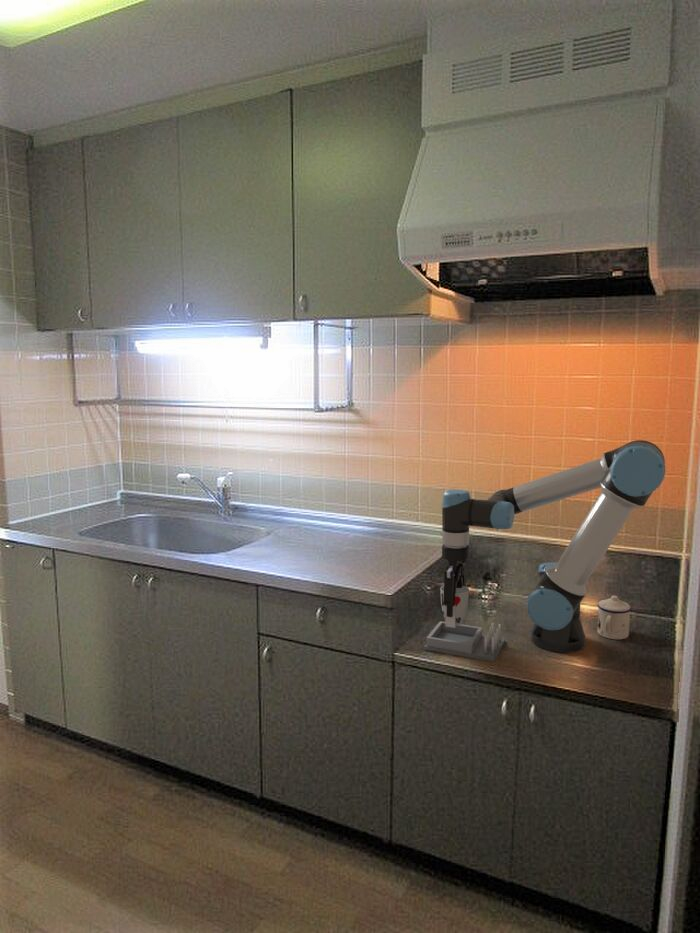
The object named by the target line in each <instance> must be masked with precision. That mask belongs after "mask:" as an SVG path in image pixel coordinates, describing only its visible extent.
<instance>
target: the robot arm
mask: <svg viewBox="0 0 700 933" xmlns="http://www.w3.org/2000/svg"><path fill="white" fill-rule="evenodd" d="M665 464H666V460H665V456H664V454H663V452H662V450H661V449H660V447H659V446H657V445H656V444H655V443H653V442H651V441H648V440H644V439H643V440H642V439H639V440H637V439H636V440H632V441H629V442H627V443H626V444H623V445H621V446H619V447H616V448H615V449H612V450H609V451H606V452H604V453H603V454H602V455H601V457H600V458H598V459H594V460H591V461H589V462H585V463H582V464H579V465H577V466H573V467H570V468H568V469H564V470H561V471H558V472H555V473H552V474H549V475H545V476H543V477H540V478H537V479H534V480H531V481H527V482H524V483H522V484H519V485H516V486H514V487H510V488H508V489H500V490H497V491H495V492H494V493H493V494H492V495H491V496H490V497H489V498H488V499H475V498H471V494H470V492H469V491H468V490H463V489H448V490H446V491H445V492H443V494H442V506H441V509H442V510H441V512H442V513H441V514H442V515H441V516H442V517H441V518H442V521H441V522H442V524H441V525H442V527H441V528H442V530H441V532H440V535H441V537H442V538H441V543H442V546H441V557H442V559H443V560H446V561H447V565H446V569H445V570H444V571H443V576H444V582H443V586H444V598H443V602H442V604H443V605H446V619H444V622H445V626H446V627H452V628H455V623H456V605H455V594H456V588H462V585H463V586H466V587H467V584H466V560H468V559H469V557H470V546H469V544H470V527H477V528H484V529H485V528H488V529H494V530H510V529H511V528H512V527H513V524H514V520H515V515H517V514H520V513H523V512H526V511H531V510H533V509H536V508H539V507H543V506H545V505H549V504H553V503H555V502H558V501H562V500H565V499H569V498H571V497H575V496H577V495H581V494H585V493H588V492H591V491H594V490H597V489H601V492H600V493H599V495H598V497H597V499H596V500H595V501H594V503H593V505H592V507H591V508H590V510H589V512H588V513H587V515H586V516H585V517H584V520H583V521H582V522H581V524H580V526H579V527H578V529H577V531H576V532H575V534H574V535H573V537H572V539H571V540H570V542H569V543H568V545H567V547H566V548H565V550H564V551H563V553H562V555H561V556H560V558H559V560H558V561H557V562H542V563H541V564H539V566H538V571H537V573H538V581H537V583H536V584H535V586H534V588H533V589H532V592H530V594H529V595H528V597H527V601H526V611H527V613H528V616H529V618H530V620H531V621H532V622H533V625H532V627H531V630H530V640H531V642H532V644H534V645H535V646H537V647H539V648H541V649H542V650H543V649H544V650H547V651H550V652H551V651H552V652H557V653H570V652H571V653H573V652H577V651H580V650H582V649H584V648H585V646H586V643H587V642H586V640H587V639H586V637H587V636H586V633H585V631H584V627H583V624H582V620H581V602H582V601H583V600H584V599H585V598H584V597H585V596H586V595H587V588H586V583H587V582H588V580H589V579H590V578H591V575H593V572H594V571H595V569H596V568H597V567H598V565H599V563H600V562H601V560H602V559H603V557H604V556H605V554H606V552H607V551H608V550H609V548H610V546H611V545H612V543H614V540H615V539H616V537H617V535H618V534H619V533H620V532H621V529H622V528H623V527H624V525H625V523H626V522H627V520H628V519H629V517H630V516H631V514H632V513H633V511H634V510H635V509H640V508H643V507H645V505H646V503H647V502H648V500H649V499H650V497H651V496H652V495H653V493H654V492H655V491H656V490H657V489H658V488H659V487H660V486H661V485H662V483H663V481H664V479H665V475H666V465H665Z"/></svg>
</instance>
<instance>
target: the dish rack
mask: <svg viewBox="0 0 700 933" xmlns="http://www.w3.org/2000/svg"><path fill="white" fill-rule="evenodd" d="M488 629H489V630H487V631H486V635H485V634H483V633H484V632H483V627H481V626H473V625H469V624H461V625H456V626H455V628H452V627H446V626H445V621H439V622H438V623H437V624H436V625H435V626H434V628H433V629H432V630H431V631H430V632H429V634H428V635H426V636H427V637H426V638H425V639H426V642H425V645H424V646H423V650H425V651H428V652H434V651H435V653H441V654H446V655H453V656H458V657H464V658H471V659H476V660H483V661H485V662H487V661H488V662H496V660H497V658H498V656H499V654H500V652H501V650H502V649H503V646H504V644H505V643H506V638H505V637H502V624H498V628H495V623H494V622H492V623H491V626H490V627H489V628H488ZM495 630H496V632H495Z"/></svg>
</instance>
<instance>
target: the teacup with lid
mask: <svg viewBox="0 0 700 933" xmlns="http://www.w3.org/2000/svg"><path fill="white" fill-rule="evenodd" d="M597 607H598V610H597V611H598V614H597V634H598V635H600V636H601V637H603V638H606V639H611V640H623V639H624V640H625V639H627V638H628V637H629V635H630V621H631V620H630V616H631V615H630V614H631V610H632V608H631V605H630V604H629V603H628V602H626V601H623V600H622V599H619V597H618V596H617V595H611V596H610V598H607V599H602V600H599V602H598V603H597Z"/></svg>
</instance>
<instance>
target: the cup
mask: <svg viewBox="0 0 700 933" xmlns="http://www.w3.org/2000/svg"><path fill="white" fill-rule="evenodd" d="M439 589H440V604H441V610H442V616H443V618H444V620H445V619H446V605H443V604H442V602H443V598H444V585H442V586H440V588H439ZM469 596H470V588H469V587H468V586H467V585H466V586H463V585H462V588H456V594H455V605H456V623H455V626H456V625H461V624H462V625H464V621H465V618H466V616H467V612H468V605H469Z"/></svg>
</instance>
